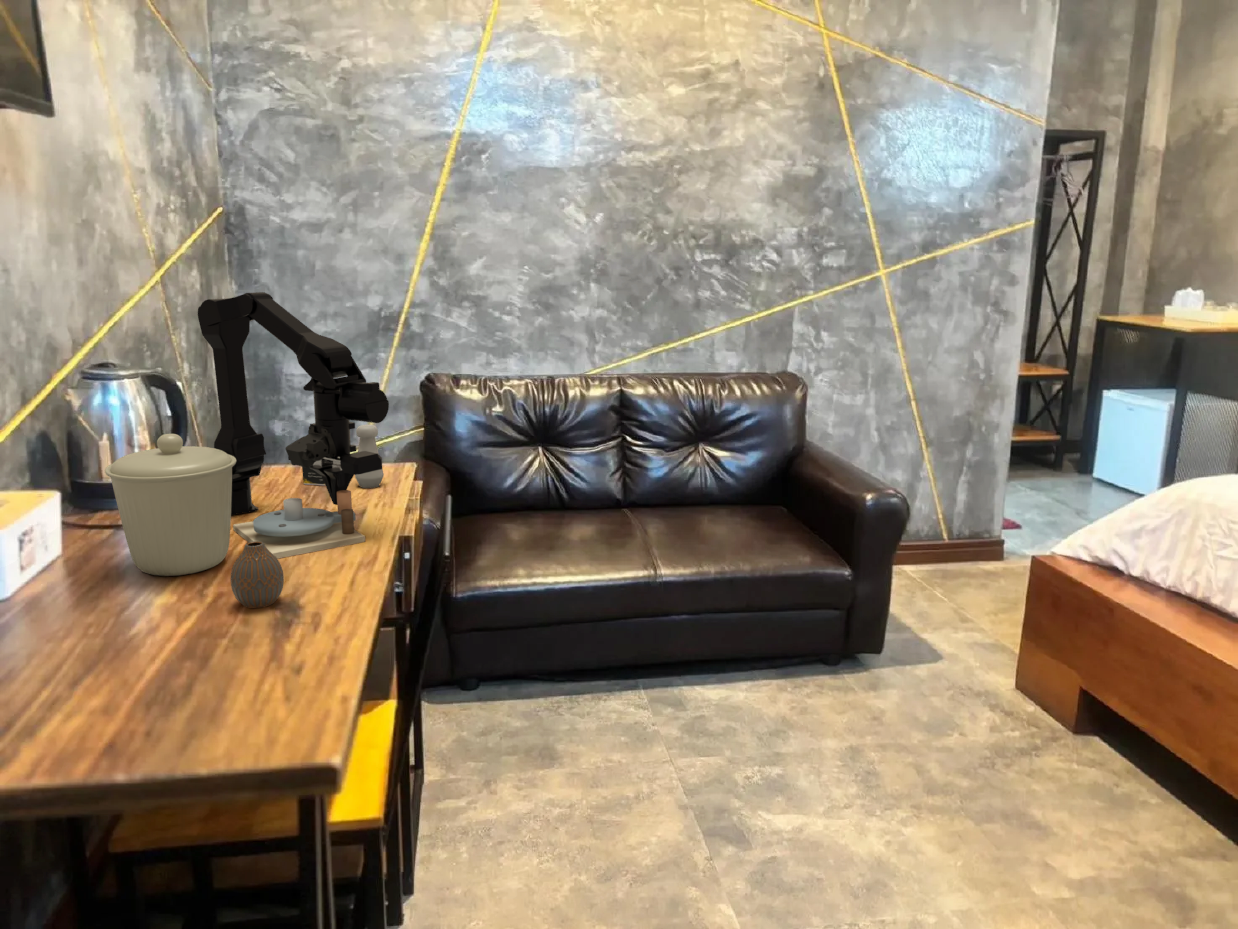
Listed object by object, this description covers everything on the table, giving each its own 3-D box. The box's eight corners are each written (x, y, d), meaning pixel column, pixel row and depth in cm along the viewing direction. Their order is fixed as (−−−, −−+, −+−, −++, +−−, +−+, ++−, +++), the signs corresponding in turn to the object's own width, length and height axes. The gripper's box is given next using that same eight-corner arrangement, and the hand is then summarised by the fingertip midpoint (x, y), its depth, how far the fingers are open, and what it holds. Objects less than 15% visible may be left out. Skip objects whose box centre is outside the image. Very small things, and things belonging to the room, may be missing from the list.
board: (233, 530, 161) (231, 502, 159) (322, 515, 170) (320, 489, 169) (269, 560, 145) (267, 530, 144) (365, 541, 155) (363, 513, 154)
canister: (99, 565, 142) (83, 433, 137) (215, 540, 155) (203, 418, 150) (144, 595, 130) (127, 451, 125) (265, 565, 143) (254, 434, 138)
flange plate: (257, 540, 147) (254, 510, 146) (250, 519, 158) (248, 491, 157) (361, 528, 154) (359, 499, 153) (347, 509, 165) (346, 482, 164)
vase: (235, 615, 123) (229, 554, 121) (230, 598, 129) (225, 540, 127) (288, 607, 126) (284, 547, 124) (281, 591, 132) (277, 533, 130)
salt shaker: (379, 489, 189) (376, 428, 186) (352, 489, 189) (348, 427, 186) (387, 482, 194) (384, 423, 192) (360, 482, 195) (357, 422, 192)
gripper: (258, 417, 156) (264, 505, 159) (328, 431, 146) (334, 524, 149) (312, 409, 165) (317, 492, 168) (382, 421, 155) (386, 509, 158)
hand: (336, 504), depth 161 cm, fingers closed
